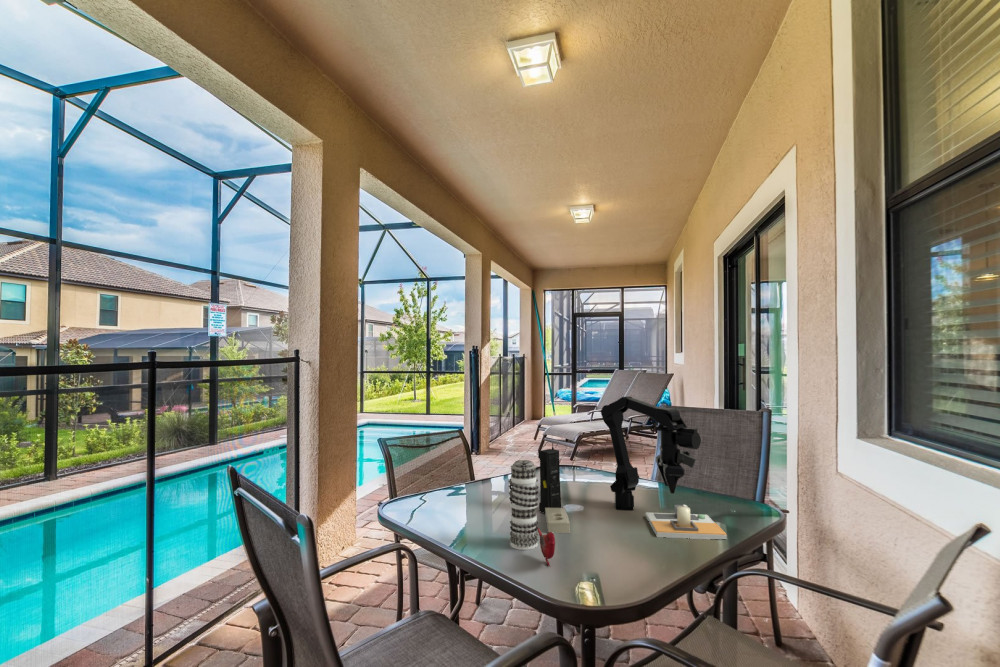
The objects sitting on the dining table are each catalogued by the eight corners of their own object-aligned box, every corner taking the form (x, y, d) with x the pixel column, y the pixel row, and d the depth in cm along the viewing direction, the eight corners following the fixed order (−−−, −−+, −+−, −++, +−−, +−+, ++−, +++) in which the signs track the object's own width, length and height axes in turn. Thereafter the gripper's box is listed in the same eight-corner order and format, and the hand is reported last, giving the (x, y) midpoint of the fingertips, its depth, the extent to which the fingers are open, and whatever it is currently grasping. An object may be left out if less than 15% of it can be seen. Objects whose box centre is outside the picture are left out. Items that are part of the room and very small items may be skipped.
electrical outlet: (564, 505, 167) (569, 522, 150) (564, 516, 167) (570, 534, 149) (544, 505, 168) (547, 521, 150) (545, 516, 167) (548, 534, 150)
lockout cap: (678, 528, 148) (678, 509, 148) (676, 524, 152) (675, 505, 152) (691, 529, 147) (691, 510, 148) (688, 525, 151) (688, 506, 151)
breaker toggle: (677, 517, 158) (677, 507, 158) (674, 514, 162) (674, 504, 162) (689, 518, 158) (689, 508, 158) (686, 514, 162) (686, 504, 162)
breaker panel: (657, 537, 146) (656, 528, 146) (645, 516, 165) (645, 509, 166) (726, 540, 143) (726, 531, 143) (707, 518, 162) (706, 511, 163)
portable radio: (548, 516, 166) (547, 446, 168) (536, 512, 171) (535, 444, 173) (562, 511, 172) (561, 444, 173) (550, 508, 176) (549, 442, 178)
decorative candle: (509, 538, 145) (508, 458, 147) (538, 539, 145) (537, 458, 146) (508, 550, 136) (508, 464, 138) (540, 550, 136) (539, 464, 137)
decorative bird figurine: (548, 575, 120) (548, 536, 120) (533, 548, 137) (532, 514, 138) (559, 574, 120) (558, 535, 121) (542, 548, 137) (542, 514, 138)
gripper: (700, 450, 151) (701, 498, 151) (686, 440, 170) (687, 483, 169) (665, 449, 153) (665, 497, 152) (655, 439, 172) (655, 481, 171)
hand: (669, 489), depth 161 cm, fingers open, 9 cm apart
